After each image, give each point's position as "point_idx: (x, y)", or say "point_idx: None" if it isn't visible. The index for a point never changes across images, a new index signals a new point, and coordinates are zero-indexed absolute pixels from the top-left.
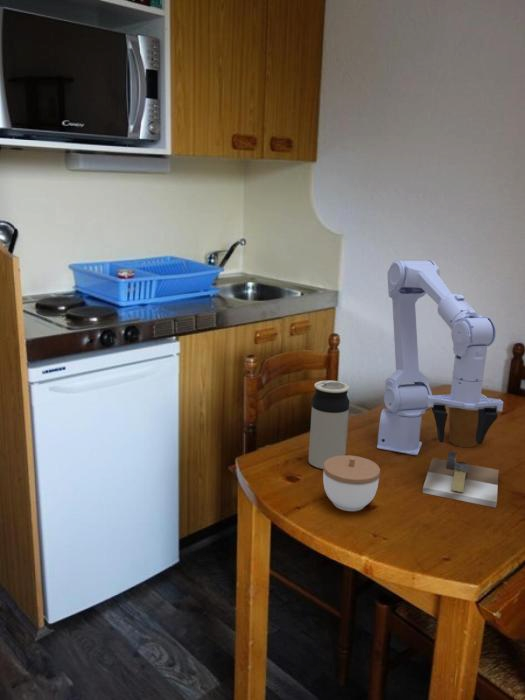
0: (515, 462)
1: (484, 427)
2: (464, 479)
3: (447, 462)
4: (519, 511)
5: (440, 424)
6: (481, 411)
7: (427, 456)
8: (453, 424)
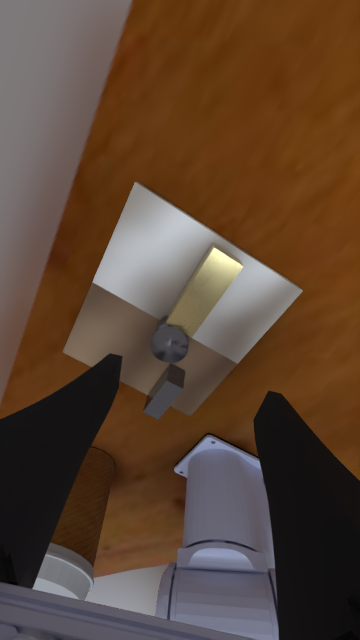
0: (14, 387)
1: (68, 408)
2: (200, 270)
3: (182, 381)
4: (81, 155)
5: (344, 475)
6: (28, 551)
7: (186, 429)
8: (101, 504)
